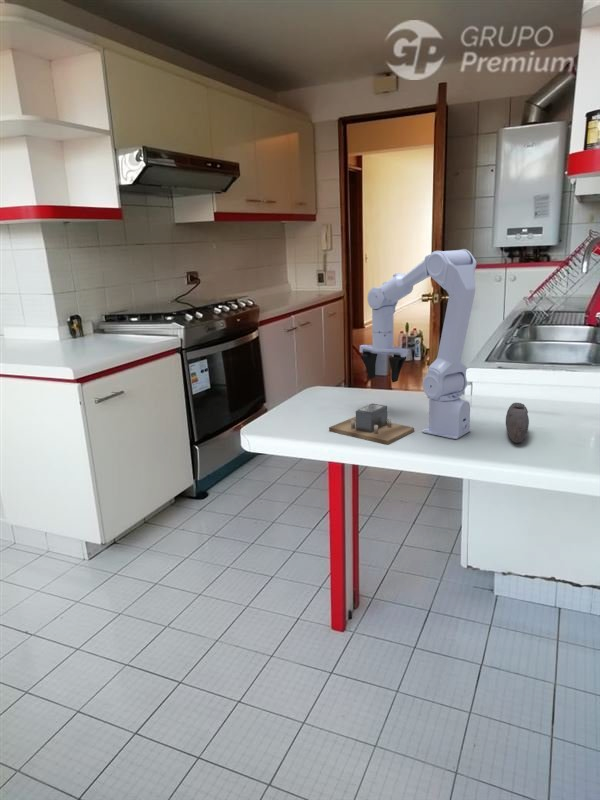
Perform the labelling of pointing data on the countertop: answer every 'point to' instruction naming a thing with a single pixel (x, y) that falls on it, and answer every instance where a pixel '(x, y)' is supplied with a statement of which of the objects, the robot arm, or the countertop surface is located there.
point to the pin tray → (381, 435)
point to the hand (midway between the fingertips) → (383, 379)
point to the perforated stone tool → (517, 422)
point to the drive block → (371, 417)
